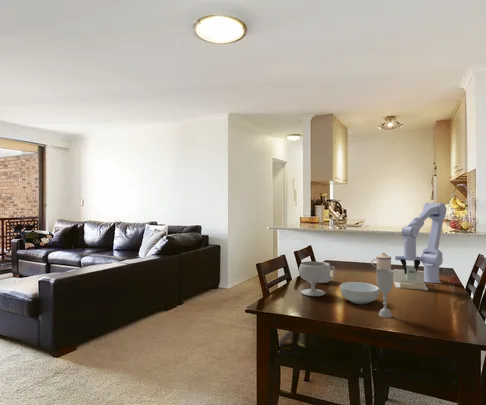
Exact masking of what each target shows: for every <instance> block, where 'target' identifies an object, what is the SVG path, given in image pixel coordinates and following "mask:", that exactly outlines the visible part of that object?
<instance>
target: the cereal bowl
mask: <svg viewBox="0 0 486 405" xmlns="http://www.w3.org/2000/svg"><path fill="white" fill-rule="evenodd" d="M339 286H340V287H339V289H340V290H339V291H340V293H341V295H342V297H343V298H344V299H346V300H348V301H349V302H351V303H352V304H356V305H357V304H358V305H368V304H369V303H371V302H374V301H375V300H377V298H378V296H379V293H380V289H379V287H378V285H374V284H373V283H367V282H361V281H347V282H343V283H341V284H340V285H339Z"/></svg>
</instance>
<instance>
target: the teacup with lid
mask: <svg viewBox="0 0 486 405" xmlns="http://www.w3.org/2000/svg"><path fill="white" fill-rule="evenodd" d="M375 257H376V258H373V259H371V265H372V266H373V267H375V268H376V270H377V269H388V270H392V257H391V255H388V254H386V252H382V253H381V254H379V255H376V256H375ZM373 261H376V265H375V264H374V263H373Z"/></svg>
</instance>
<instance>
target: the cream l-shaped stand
mask: <svg viewBox="0 0 486 405" xmlns="http://www.w3.org/2000/svg"><path fill="white" fill-rule="evenodd" d="M393 271H395V272H394V274H393V285H394V286H395V288H396V289H405V290H406V289H407V290H422V291H429V288H428V287H427V286H426V284H425V282H424V270H417V272H416V281H414V280H407V279H406V277H405V273H404V269H393Z"/></svg>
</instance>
